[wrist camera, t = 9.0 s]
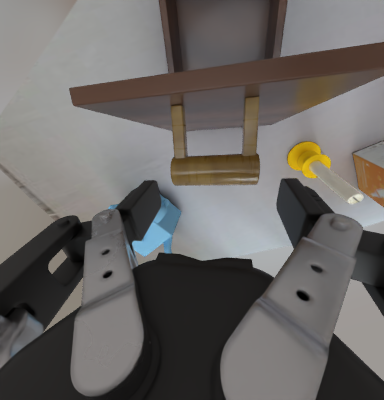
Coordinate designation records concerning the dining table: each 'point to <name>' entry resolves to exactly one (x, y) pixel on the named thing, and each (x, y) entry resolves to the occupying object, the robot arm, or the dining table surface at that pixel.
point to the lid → (232, 103)
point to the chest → (221, 32)
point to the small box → (371, 171)
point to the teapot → (158, 229)
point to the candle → (321, 170)
